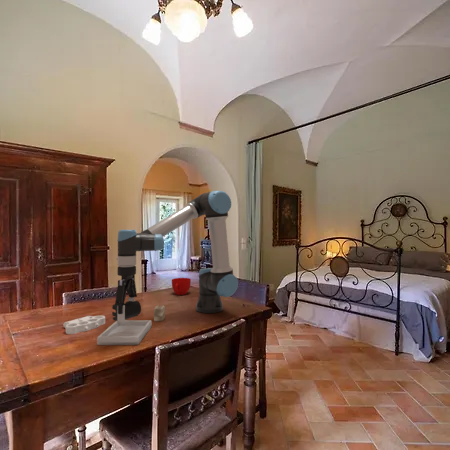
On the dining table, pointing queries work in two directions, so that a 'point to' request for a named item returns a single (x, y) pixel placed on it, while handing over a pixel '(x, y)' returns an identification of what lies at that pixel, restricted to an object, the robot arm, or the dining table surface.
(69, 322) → the muffin pan
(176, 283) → the ceramic cup
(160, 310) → the block
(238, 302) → the dining table surface
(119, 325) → the tray
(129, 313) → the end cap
